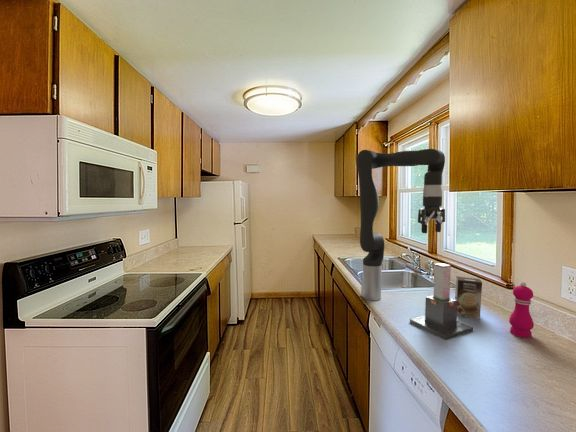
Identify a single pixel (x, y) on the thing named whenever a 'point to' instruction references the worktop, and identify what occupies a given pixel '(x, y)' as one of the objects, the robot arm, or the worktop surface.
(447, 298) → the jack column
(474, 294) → the coffee box
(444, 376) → the worktop surface
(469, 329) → the grey square socket base
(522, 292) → the pepper mill
